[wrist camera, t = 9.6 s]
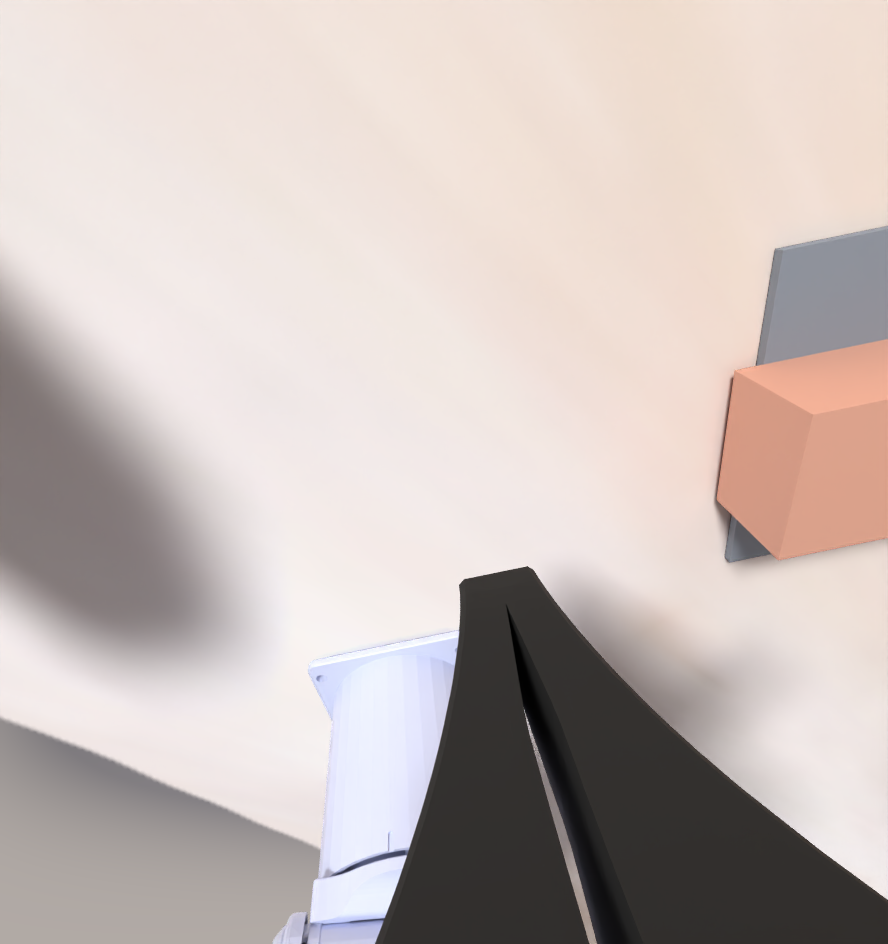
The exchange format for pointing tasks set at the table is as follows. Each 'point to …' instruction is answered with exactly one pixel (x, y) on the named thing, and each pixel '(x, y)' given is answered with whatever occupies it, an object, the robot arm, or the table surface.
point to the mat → (820, 315)
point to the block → (810, 451)
